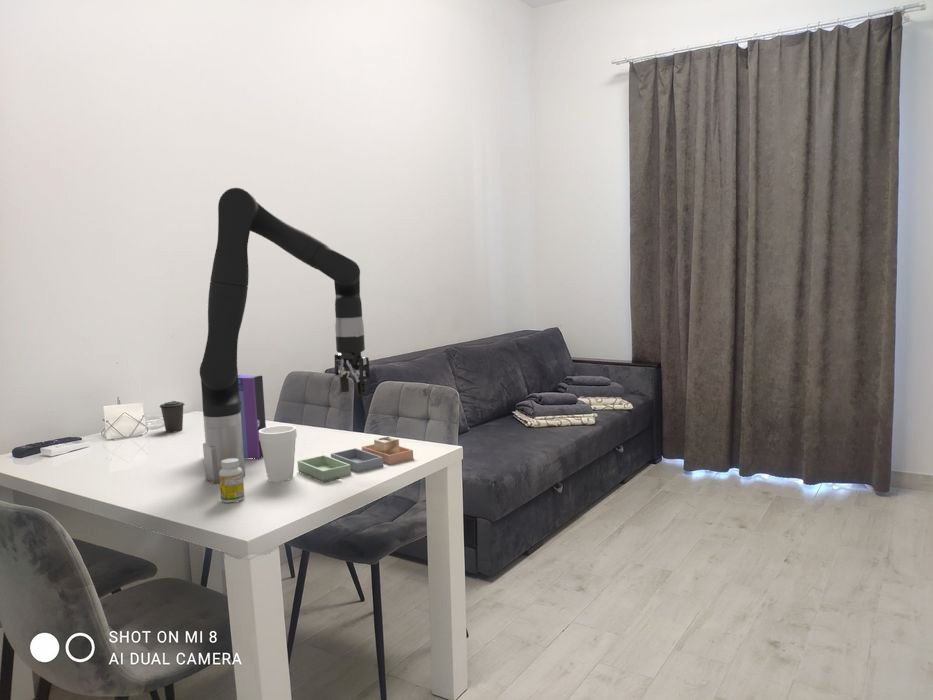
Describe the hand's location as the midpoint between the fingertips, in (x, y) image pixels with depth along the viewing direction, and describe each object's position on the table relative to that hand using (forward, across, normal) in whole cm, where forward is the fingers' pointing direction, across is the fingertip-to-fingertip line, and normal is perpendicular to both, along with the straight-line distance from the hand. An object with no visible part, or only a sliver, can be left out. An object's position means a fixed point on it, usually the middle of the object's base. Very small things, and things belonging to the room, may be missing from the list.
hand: (353, 393), depth 190 cm
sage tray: (+20, 0, -10) cm, 22 cm away
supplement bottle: (+20, +3, -36) cm, 41 cm away
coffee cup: (+20, -87, -21) cm, 92 cm away
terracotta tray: (+20, 0, +10) cm, 22 cm away
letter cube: (+20, 0, +10) cm, 22 cm away
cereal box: (+20, -36, -19) cm, 45 cm away
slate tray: (+20, 0, 0) cm, 20 cm away
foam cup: (+20, -5, -20) cm, 29 cm away
